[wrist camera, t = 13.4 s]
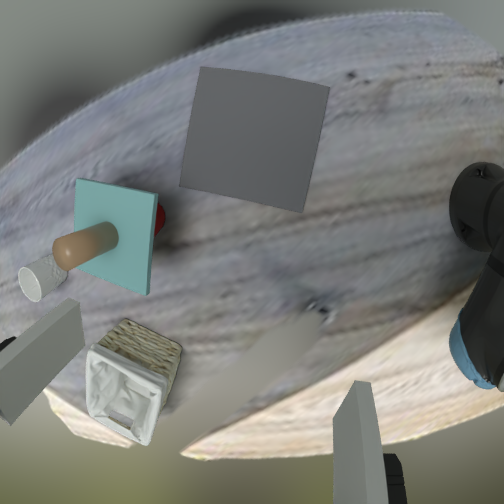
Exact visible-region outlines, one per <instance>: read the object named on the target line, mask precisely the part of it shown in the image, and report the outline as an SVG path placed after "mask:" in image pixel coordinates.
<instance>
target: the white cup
mask: <svg viewBox="0 0 504 504" xmlns="http://www.w3.org/2000/svg"><path fill="white" fill-rule="evenodd" d="M67 275H68V273H67V271H64V270H62V269H61V268H60V267H59V266H58V265H57V263H56V262H55V260H54V257H53V254H51V255H49V256H47V257H45V258H42V259H39V260H37V261H35V262H33V263H30V264H28V265H26V266H24V267H22V268H21V269H20V270H19V274H18V278H19V283H20V286H21V289H22V291H23V292H24V294H25V295H26V296H27V298H28V299H30V300H31V301H33V302H39V301H40V300H41V299H42V298H44V297H45V296H46V295H47V294H49V293H50V292H51V291H53V290H54V289H55V288H56V287H57V286H58V285H59V284H61V283H62V282H63V281H65V280H66V278H67Z"/></svg>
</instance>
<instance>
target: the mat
mask: <svg viewBox="0 0 504 504" xmlns="http://www.w3.org/2000/svg"><path fill="white" fill-rule="evenodd" d="M329 88H330V87H328V86H323V85H319V84H315V83H310V82H306V81H301V80H296V79H291V78H285V77H280V76H274V75H268V74H261V73H255V72H247V71H239V70H231V69H221V68H209V67H201V69H200V73H199V78H198V82H197V87H196V92H195V97H194V102H193V107H192V112H191V117H190V123H189V128H188V134H187V140H186V145H185V151H184V158H183V164H182V171H181V177H180V184H179V187H185V188H190V189H195V190H200V191H205V192H210V193H215V194H219V195H224V196H229V197H234V198H238V199H243V200H247V201H252V202H256V203H261V204H265V205H270V206H274V207H278V208H282V209H287V210H291V211H295V212H299V213H302V211H303V207H304V203H305V198H306V194H307V190H308V186H309V181H310V177H311V172H312V168H313V164H314V159H315V155H316V150H317V146H318V141H319V136H320V132H321V127H322V122H323V117H324V113H325V108H326V103H327V98H328V93H329Z"/></svg>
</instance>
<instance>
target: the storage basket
mask: <svg viewBox="0 0 504 504" xmlns="http://www.w3.org/2000/svg"><path fill="white" fill-rule="evenodd" d="M181 350H182V347H181V346H180V345H179V344H177V343H175V342H173V341H171V340H168V339H167V338H165V337H163V336H160V335H158V334H157V333H155V332H153V331H150V330H148V329H147V328H145V327H142V326H140V325H138V324H137V323H135V322H133V321H130V320H127V319H124V320H123V321H121V322H120V323H119V324H118V326H116V327H114V328H113V329H112V330H111V331H109V332H108V333H107V335H105V336H104V337H103V338H102V339H101V340H100V341H99V342H98V343H93V344H92V346H91V348H90V350H89V351H88V353H87V360H86V403H87V408H88V412H89V414H90V416H91V417H93V418H94V419H96V420H97V421H99V422H101V423H102V424H104V425H106V426H107V427H109V428H111V429H112V430H114V431H116V432H118V433H120V434H122V435H124V436H125V437H127V438H129V439H131V440H134V441H136V442H138V443H140V444H142V445H145V446H147V445H149V443H150V441H151V439H152V436H153V433H154V430H155V426H156V423H157V421H158V418H159V416H160V414H161V411H162V409H163V406H164V405H165V403H166V400H167V397H168V394H169V392H170V391H171V387H172V384H173V382H174V378H175V376H176V372H177V367H178V365H179V362H180V353H181ZM113 410H114V411H116V412H118V413H121V414H123V415H125V416H127V417H129V418H131V419H133V421H134V422H133V424H132V426H131V428H130V427H128V426H127V425H125V424H122V423H121V422H119V421H118V420H116V419H113V418H112V417H110V416H109V415H110V413H111V412H112V411H113Z"/></svg>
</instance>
